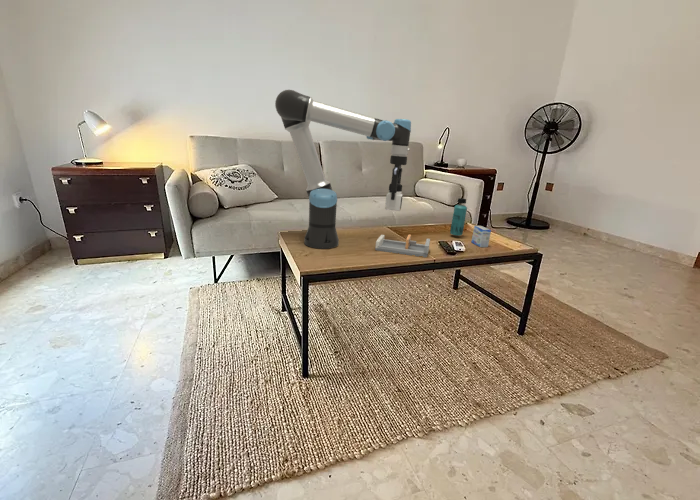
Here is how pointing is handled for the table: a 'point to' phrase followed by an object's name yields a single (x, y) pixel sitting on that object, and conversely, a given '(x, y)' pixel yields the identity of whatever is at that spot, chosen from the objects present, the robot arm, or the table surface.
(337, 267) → the table surface
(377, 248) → the lane
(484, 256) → the table surface
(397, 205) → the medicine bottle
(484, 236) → the medicine box
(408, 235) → the pusher
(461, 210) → the beverage bottle
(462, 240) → the table surface
